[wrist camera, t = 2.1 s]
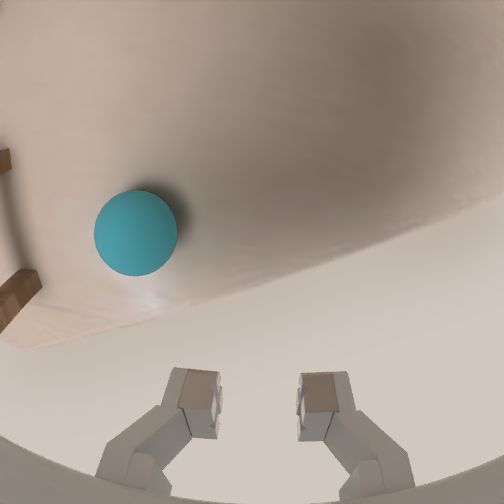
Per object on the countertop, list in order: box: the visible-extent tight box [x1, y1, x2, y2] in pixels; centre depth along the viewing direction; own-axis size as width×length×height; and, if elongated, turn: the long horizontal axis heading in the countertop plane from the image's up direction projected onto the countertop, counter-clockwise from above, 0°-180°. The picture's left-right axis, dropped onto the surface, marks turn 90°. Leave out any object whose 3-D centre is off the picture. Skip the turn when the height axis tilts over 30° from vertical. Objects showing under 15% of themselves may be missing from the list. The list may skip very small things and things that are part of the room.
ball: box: [94, 190, 177, 276], centre depth 21 cm, size 6×6×6 cm
